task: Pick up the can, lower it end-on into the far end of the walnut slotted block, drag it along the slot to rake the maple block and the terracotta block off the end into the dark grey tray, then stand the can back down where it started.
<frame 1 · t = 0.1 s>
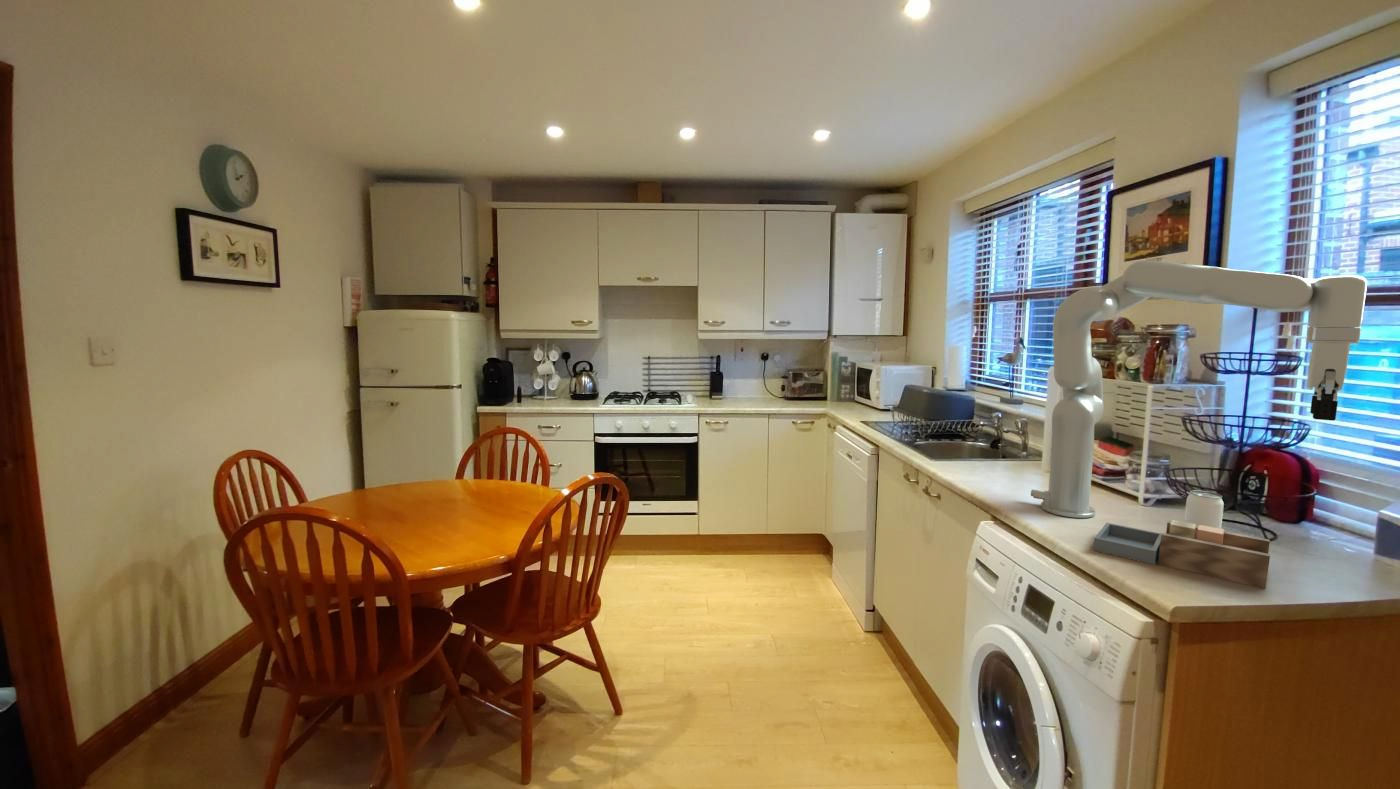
hand: (1322, 416, 124), 31 cm above the worktop, tool pointing down, fingers open, 9 cm apart
terracotta block: (1208, 547, 123), point 4 cm above the worktop, touching slot block
slot block: (1211, 566, 123), on the worktop
maple block: (1181, 542, 126), point 4 cm above the worktop, touching slot block
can: (1200, 544, 136), on the worktop
tray: (1128, 548, 133), on the worktop
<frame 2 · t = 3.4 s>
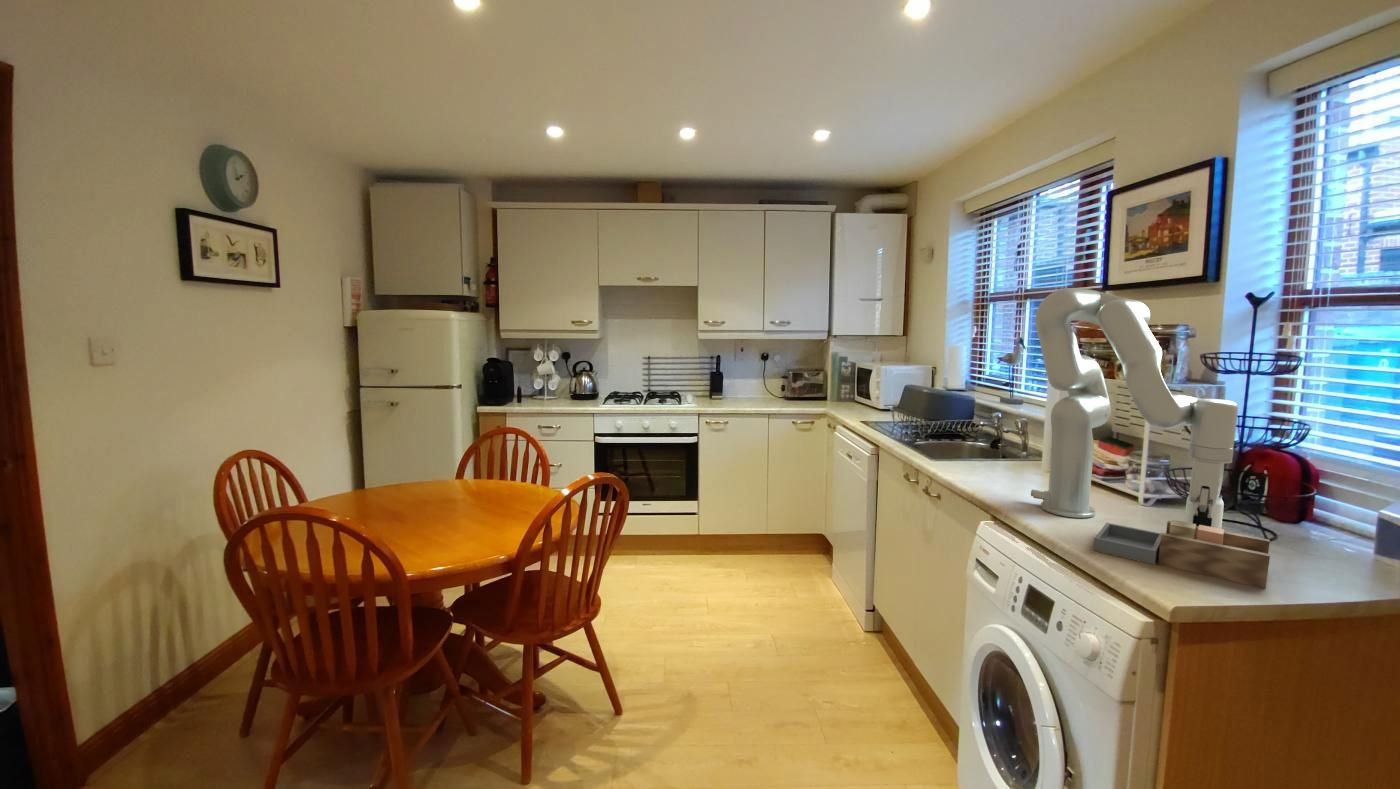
hand: (1202, 528, 135), 4 cm above the worktop, tool pointing down, fingers closed on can, 6 cm apart
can: (1200, 544, 135), on the worktop, touching gripper
everything else where it was.
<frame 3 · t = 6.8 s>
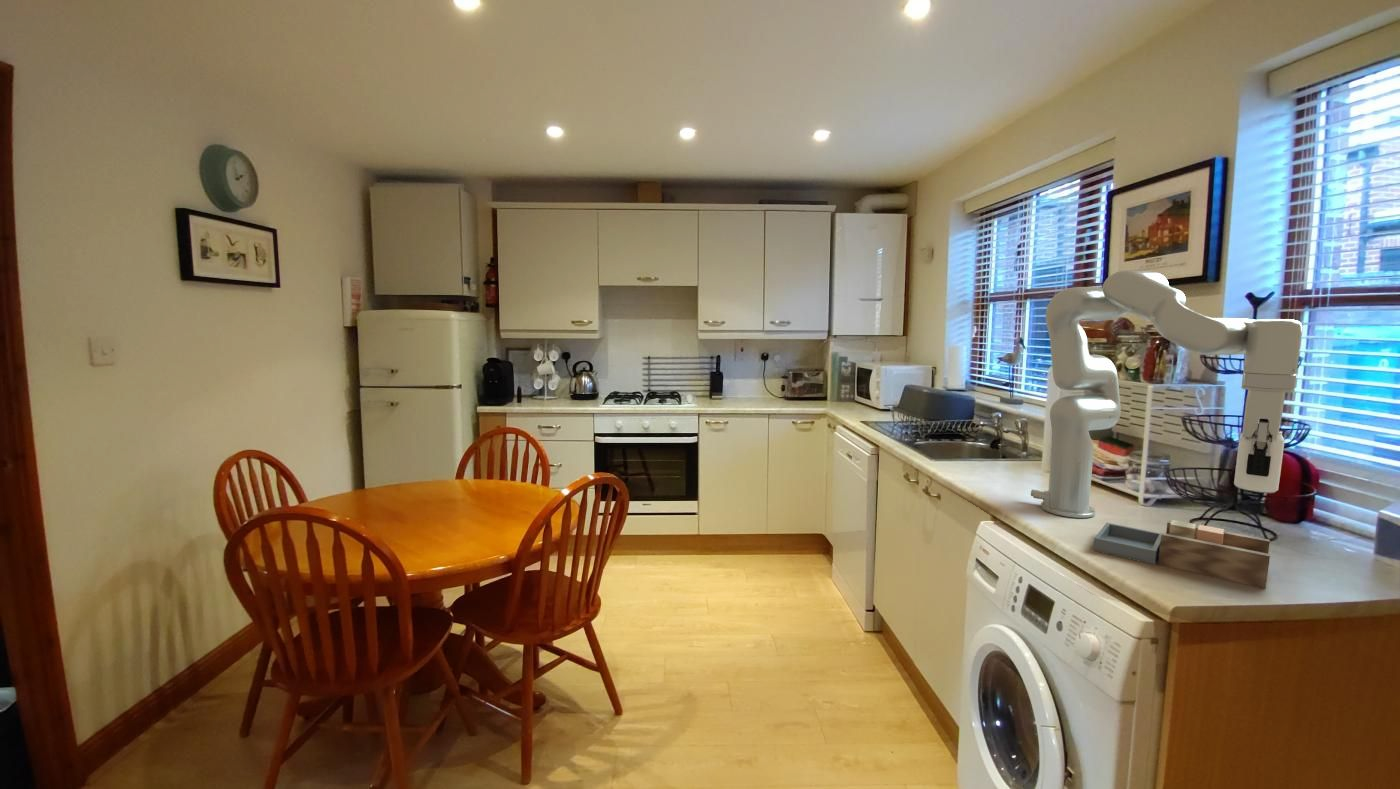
hand: (1257, 471, 117), 22 cm above the worktop, tool pointing down, fingers closed on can, 6 cm apart
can: (1255, 489, 117), point 18 cm above the worktop, touching gripper
everything else where it was.
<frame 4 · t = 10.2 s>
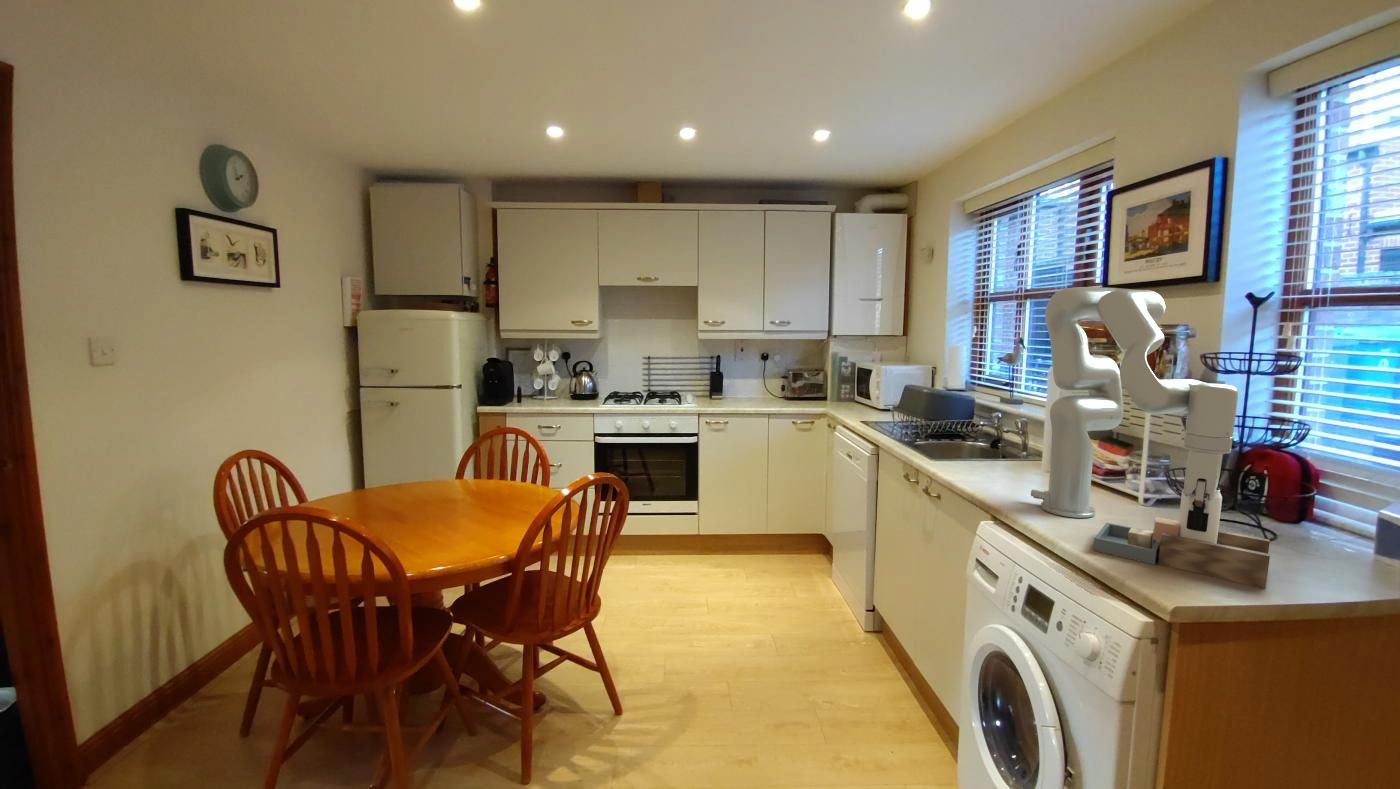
hand: (1197, 525, 124), 8 cm above the worktop, tool pointing down, fingers closed on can, 6 cm apart
terracotta block: (1164, 538, 128), point 4 cm above the worktop, touching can, maple block
maple block: (1151, 542, 129), point 3 cm above the worktop, tilted 91°, touching terracotta block
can: (1196, 542, 124), point 4 cm above the worktop, touching gripper, terracotta block
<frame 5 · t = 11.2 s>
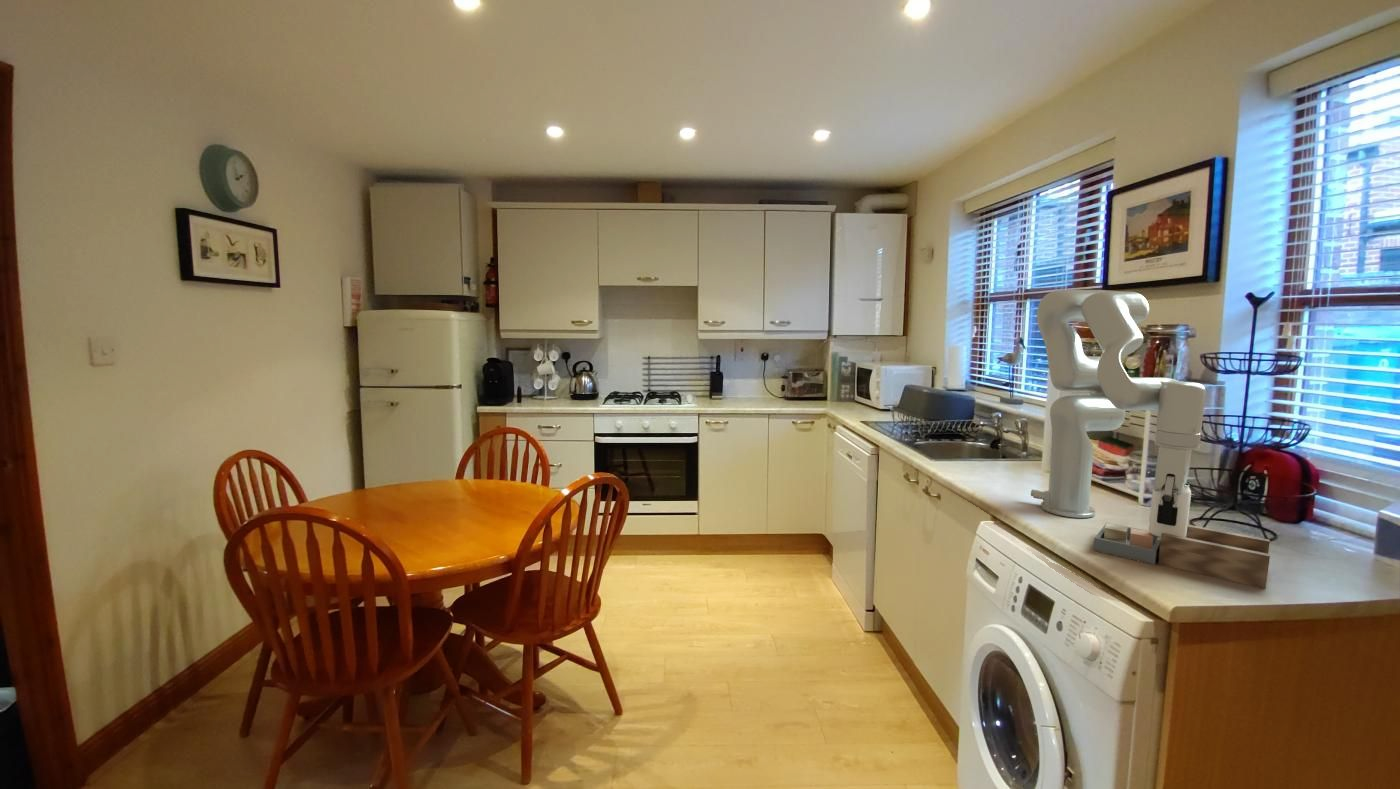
hand: (1168, 519, 127), 8 cm above the worktop, tool pointing down, fingers closed on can, 6 cm apart
terracotta block: (1129, 539, 132), point 2 cm above the worktop, tilted 90°, touching tray
maple block: (1116, 527, 134), point 4 cm above the worktop, tilted 180°, touching tray
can: (1166, 536, 128), point 5 cm above the worktop, touching gripper
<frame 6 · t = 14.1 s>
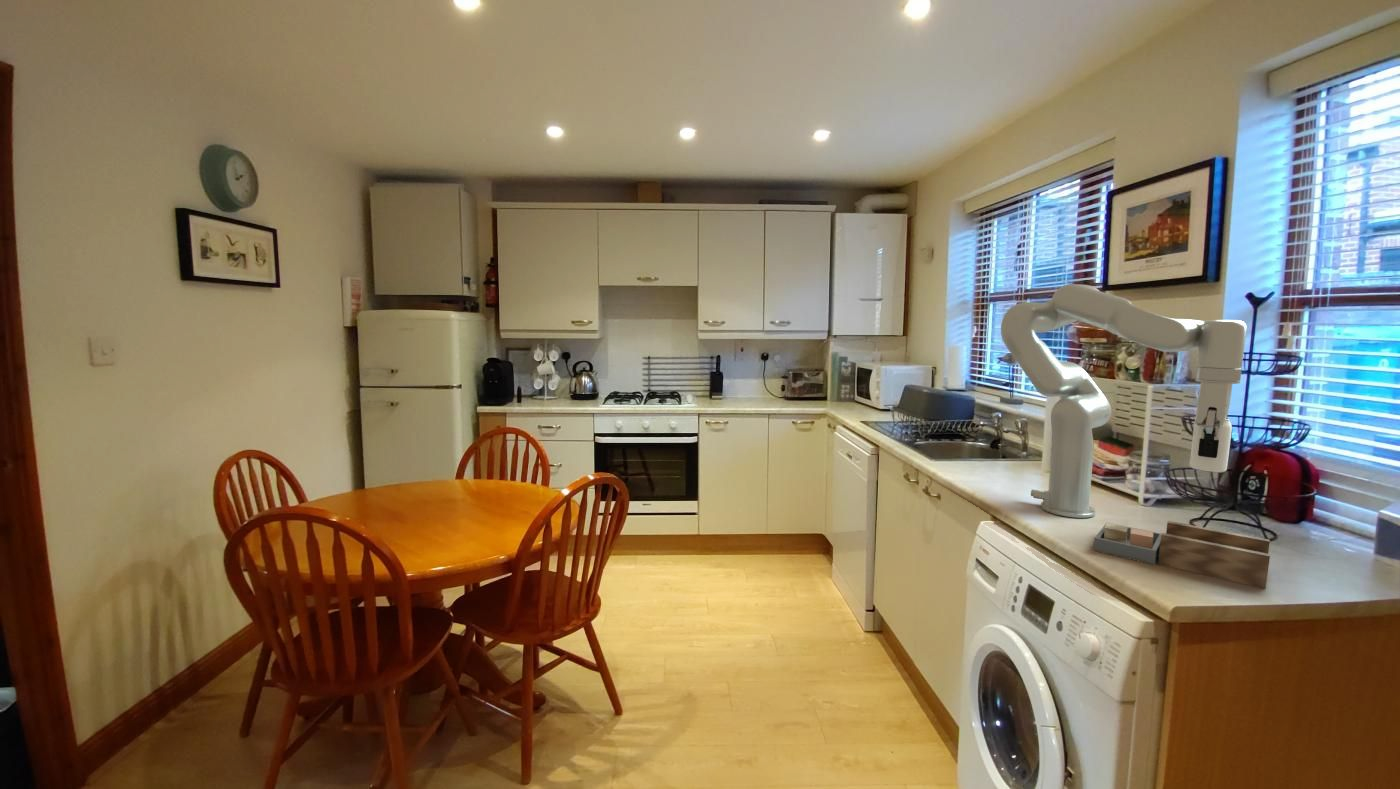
hand: (1208, 453, 133), 21 cm above the worktop, tool pointing down, fingers closed on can, 6 cm apart
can: (1207, 470, 133), point 18 cm above the worktop, touching gripper
everything else where it was.
when the fingers open (5 cm above the worktop, at t = 16.8 s): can drops 1 cm, on the worktop.
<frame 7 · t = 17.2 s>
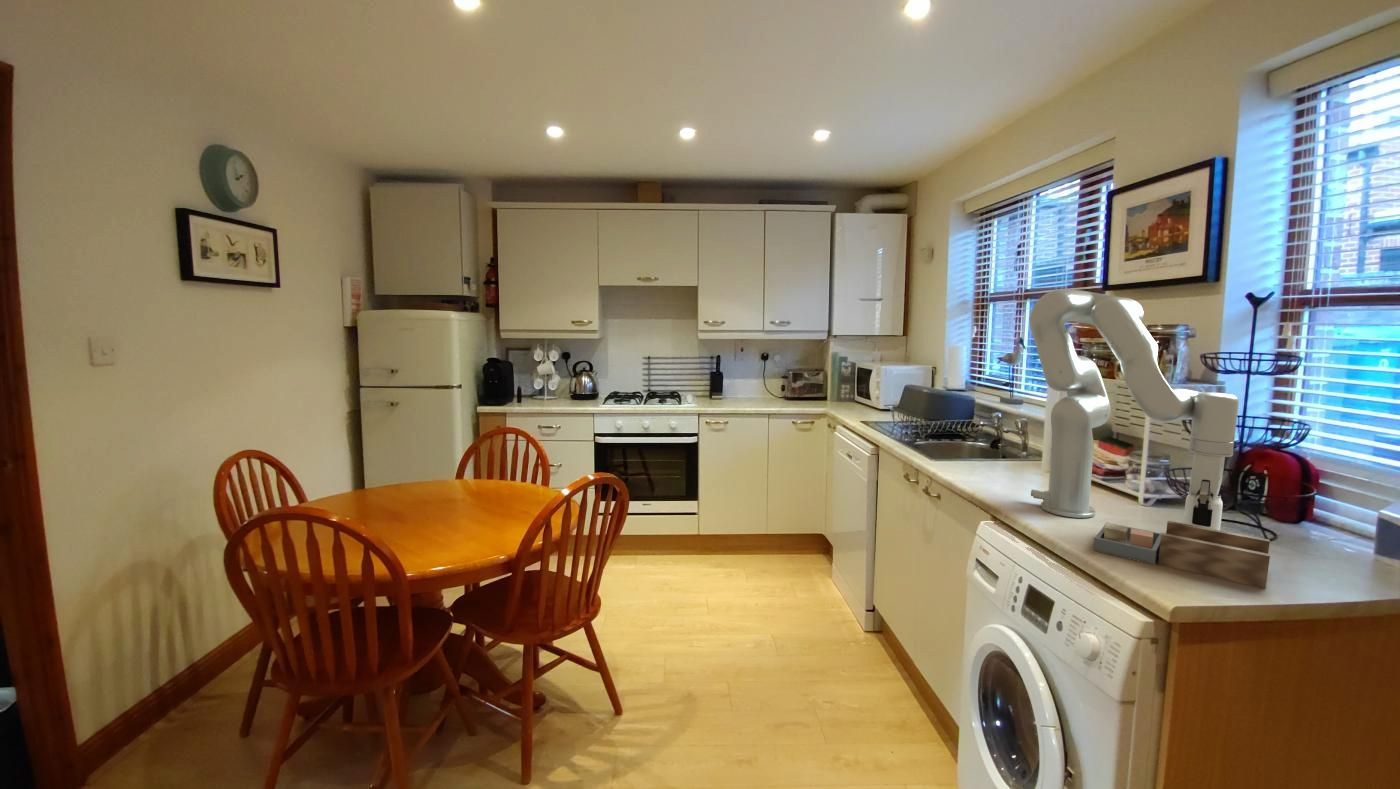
hand: (1202, 519, 135), 6 cm above the worktop, tool pointing down, fingers open, 9 cm apart
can: (1199, 544, 136), on the worktop
everything else where it was.
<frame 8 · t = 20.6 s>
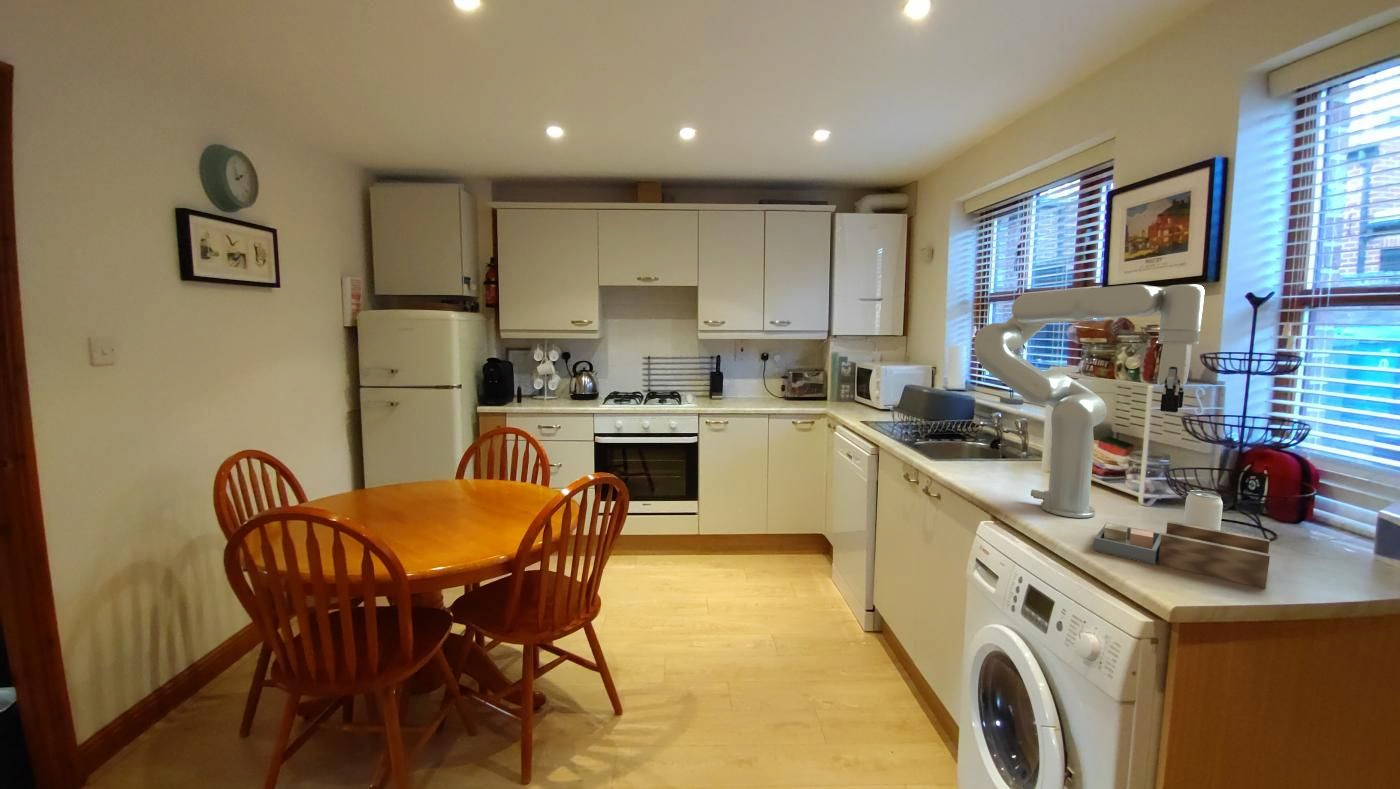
hand: (1171, 409, 140), 30 cm above the worktop, tool pointing down, fingers open, 9 cm apart
nothing on the worktop moved.
at the end: maple block inside the target area (2.3 cm from its centre), point 4.5 cm above the worktop; terracotta block inside the target area (1.0 cm from its centre), point 2.5 cm above the worktop; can inside the target area (0.1 cm from its centre), on the worktop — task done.
